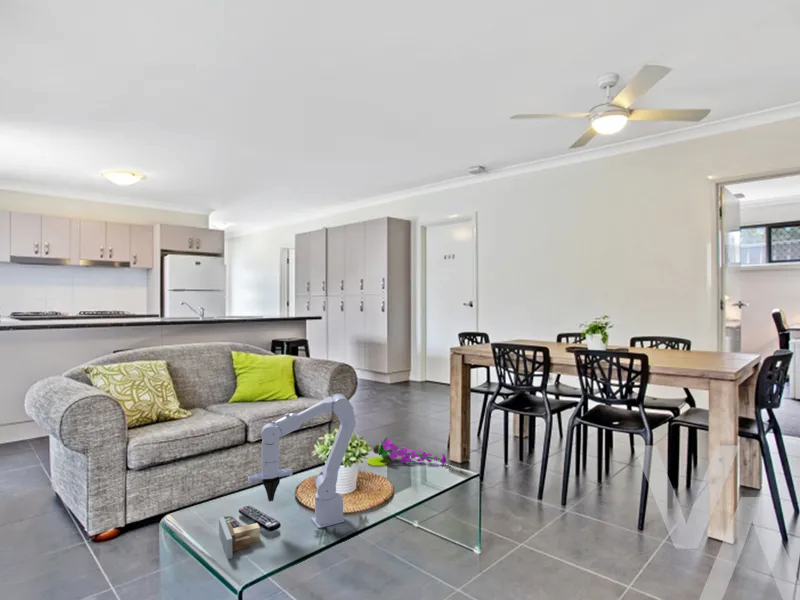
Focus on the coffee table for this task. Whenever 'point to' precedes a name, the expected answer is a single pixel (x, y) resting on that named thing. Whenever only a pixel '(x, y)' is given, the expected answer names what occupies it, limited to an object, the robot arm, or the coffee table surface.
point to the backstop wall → (225, 538)
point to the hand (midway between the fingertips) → (270, 500)
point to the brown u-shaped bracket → (238, 540)
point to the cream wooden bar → (248, 532)
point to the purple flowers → (403, 453)
